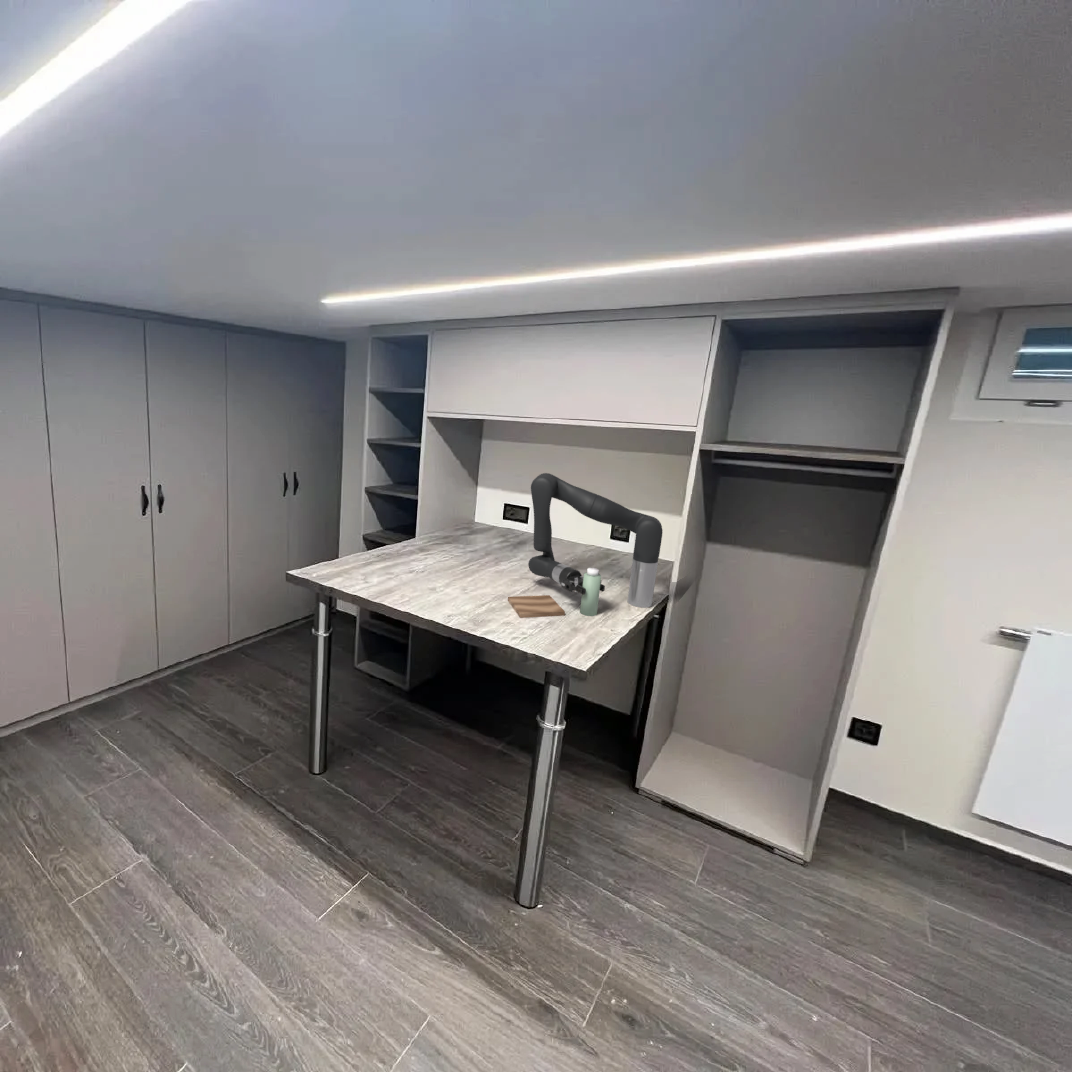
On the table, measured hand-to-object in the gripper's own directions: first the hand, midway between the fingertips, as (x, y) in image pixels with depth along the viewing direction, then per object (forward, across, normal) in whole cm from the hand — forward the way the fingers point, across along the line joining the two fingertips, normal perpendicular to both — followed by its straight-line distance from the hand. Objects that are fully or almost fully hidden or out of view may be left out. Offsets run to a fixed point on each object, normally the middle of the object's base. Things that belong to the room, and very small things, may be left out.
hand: (594, 590), depth 173 cm
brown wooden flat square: (-13, -15, +9) cm, 22 cm away
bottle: (-2, 0, +9) cm, 9 cm away
